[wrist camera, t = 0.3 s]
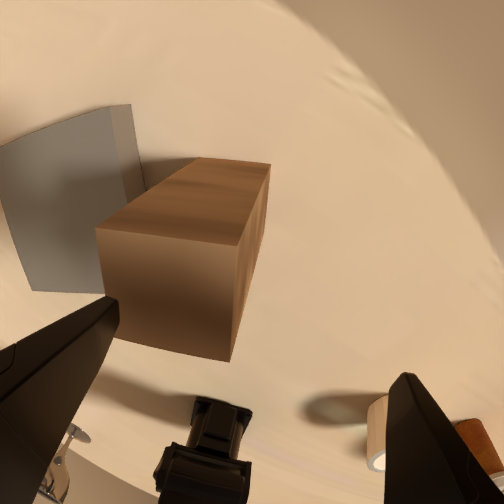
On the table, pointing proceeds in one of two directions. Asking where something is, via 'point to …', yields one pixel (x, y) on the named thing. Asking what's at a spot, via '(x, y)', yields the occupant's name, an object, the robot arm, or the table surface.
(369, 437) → the tan cylindrical piece
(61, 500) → the wine glass
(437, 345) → the table surface
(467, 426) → the disposable coffee cup
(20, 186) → the plate
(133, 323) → the walnut block
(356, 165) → the table surface
